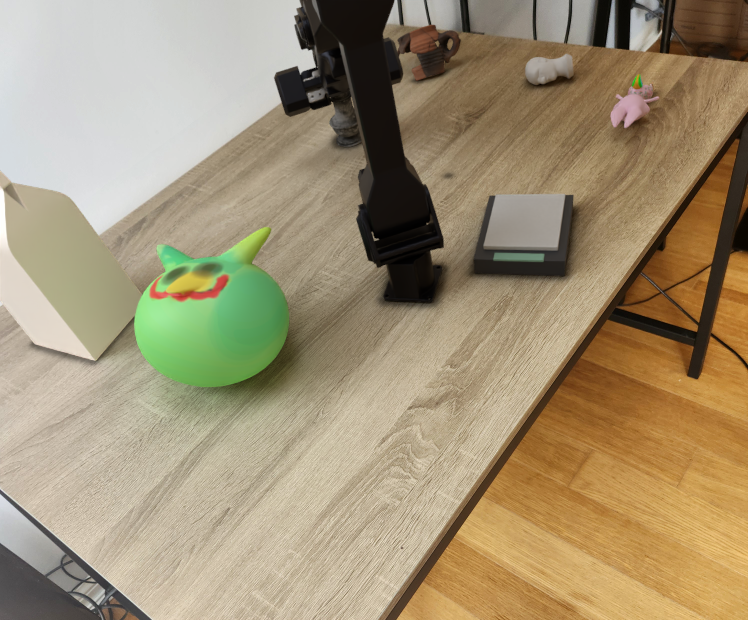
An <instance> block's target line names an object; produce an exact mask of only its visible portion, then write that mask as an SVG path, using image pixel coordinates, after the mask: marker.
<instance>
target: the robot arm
mask: <svg viewBox="0 0 748 620" xmlns="http://www.w3.org/2000/svg"><path fill="white" fill-rule="evenodd" d="M299 4H300V6H299V7H297V8H296V13H297V14H295V15H293V18H294V21H295V24H294V26H293V27H294V30H295V31H294V32H295V35H296V38H297V41H298V44H299V47H300V50H302V51H304V50H307V51H308V52H309V51H311V52H312V54H311V55H312V58H313V62H314V66H315V67H312V68H309V69H305V70H302V71H301V72H300V69H299V66H298V65H295V66H292V67H289V68H286V69H283V70H279V71H276V72H275V74H274V76H273V80H274V84H275V86H276V89H277V92H278V96H279V99H280V102H281V105H282V108H283V111H284V115H286V117H287V116H288V117H289V118H291V117H295V116H298V115H301V114H305V113H307V112H308V111H309V110H312V111H317V110H319V109H323V108H326V107H330V106H331V105H332V104H333V102H331V100H330V98H331V97H333V96H336V95H340V94H343V93H346V92H349V91H350V93H351V100H352V104H353V107H354V110H355V114H356V118H357V123H358V127H359V131H360V136H361V140H362V142H361V144H362V148H363V153H364V157H365V160H366V165H365V167H364V168H361V169H359V171H358V173H357V180H358V189H359V195H360V198H361V203H359V204H357V208H358V210H357V216H356V217H355V221H356V224H357V227H358V231H359V234H360V237H361V241H362V245H363V248H364V250H365V255H366V258H367V261H368V262H372V263H373V264H374V265H376V268H377V269H380V268H382V267H384V266H385V267H386V271H387V275H388V281H387V283H386V287H385V290H384V293H383V296H382V297H383V300H384V301H386V302H401V303H402V302H403V303H404V302H407V303H425V304H426V303H427V304H431V303H433V302H434V301H435V298H436V294H437V290H438V287H439V283H440V279H441V276H442V274H443V265H441V264H433V263H434V262H433V259H432V253H431V252H433V251H435V250H438V249H439V250H441V249H443V248H445V242H444V241H445V240H444V239H445V238H444V235H443V231H442V229H441V225H440V222H439V218H438V216H437V212H436V209H435V206H434V202H433V199H432V196H431V193H430V190H429V187H428V186H427V184H426V183H423V181H422V179H421V177H420V176H419V174H418V172H417V169H416V168H415V166H414V165H413V164H412V163H411V161H410V160H409V159H408V158H407V156H406V155H405V149H404V145H403V139H402V133H401V128H400V122H399V117H398V111H397V105H396V100H395V95H394V88H393V86H394V85H397V84H400V83H401V82H402V80H403V77H404V70H403V69H404V68H403V66H402V62H401V59H400V55H398V52H397V51H398V48H397V46H396V42H395V41H394V39H392V38H391V37H389V36H388V37H384V31H385V29H386V26H387V23H388V21H389V18H390V15H391V14H392V10H393V7H394V4H395V0H299Z"/></svg>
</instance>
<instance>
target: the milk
mask: <svg viewBox="0 0 748 620" xmlns="http://www.w3.org/2000/svg"><path fill="white" fill-rule="evenodd" d="M142 295H143V293H142V292H141V291H140V289H138V287H137V286H136V284H135V283H134V281H133V280H132V279H131V278H130V276H129V275H128V273H127V272H126V270H125V269H124V268H123V267H122V265H121V264H120V262H119V261H118V260H117V258H116V257H115V256H114V254H113V253H112V252H111V251H110V249H109V248H108V246H107V245H106V244H105V242H104V241H103V239H102V238H101V237H100V236H99V234H98V232H97V231H96V230H95V229H94V227H93V226H92V224H91V223H90V222H89V220H88V219H87V218H86V216H85V215H84V214H83V212H82V211H81V209H80V208H79V207H78V206H77V204H76V202H75V201H73V199H72V198H71V197H70V196H69V195H67V194H65V193H63V192H60V191H57V190H53V189H48V188H43V187H39V186H32V185H26V184H23V183H22V184H21V183H16V182H12V180H11V179H9V177H7V175H5V173H4V172H2V171H1V170H0V303H1V304H2V306H4V308H5V309H6V310H7V311H8V313H9V314H10V315H11V317H12V318H13V319H14V320H15V322H16V323H17V324H18V326H20V328H21V329H22V330H23V332H24V333H25V334H26V335H27V337H28V338H29V339H30V340H31V342H33V344H34V345H36V346H40V347H43V348H47V349H51V350H54V351H58V352H60V353H61V352H62V353H65V354H69V355H73V356H76V357H79V358H83V359H86V360H91V361H94V362H96V361H97V360H98V359H99V358H100V357H101V356H102V355H103V353H104V352H105V351H106V350H107V349H108V348H109V346H110V345H111V344H112V343H113V342H114V341H115V340H116V338H117V337H118V336H119V335H120V334H121V333H122V331H123V330H124V329H125V328H126V327H127V325H128V324H130V322H131V321H132V320H133V319H134V318H135V313H136V309H137V306H138V303H139V301H140V298H141V296H142Z"/></svg>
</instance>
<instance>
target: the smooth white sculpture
mask: <svg viewBox="0 0 748 620" xmlns="http://www.w3.org/2000/svg"><path fill="white" fill-rule="evenodd" d="M573 61H574V60H573V55H571V54H569V53H565V54H564V55H562V56H561V57H557V58H547V57H543V56H535V57H532V58H531V59H529V60H528V61H527V62H526V64H525V68H524V74H525V77H526V80H527V81H528V82H529V83H530V84H532V85H534V86H538V85H540V84H541V85H545V84H547V83H550V82H554V81H555V80H557V78H558V77H564V78H566V79H568V80H570V79H571V78H572V77H574V63H573Z"/></svg>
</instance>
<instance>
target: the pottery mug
mask: <svg viewBox="0 0 748 620" xmlns="http://www.w3.org/2000/svg"><path fill="white" fill-rule="evenodd" d="M450 40H452V45H451V47H450V49H449V48H448V47H449V46H448V44H449V41H450ZM437 42H438V45H437ZM461 42H462V39H461V38H460V35H459V32H457V31H455V30H451V29H450V30H446V31H445V30H444V31H443V32H439V31H438V30H437V25H436V24H429V25H424V26H422V27H419V28H417V29H414V30H411V31H409V32H406V33H405V34H403V35H402V36H399V37H398V38H397V43H398V48H397V52H398V55H399V56H400V55H404V54H409V53H412V54H414V55H416V57H417V58H418V61H419V63H420V64H418V65H416V66H415V67H412V69H411V73H412V74H413V78H414V80H415V81H416V82H417V81H421V80H423V79H425V78H428V77H434V76H437V75H439V74H443V73H445V64H446V65H447V64H450V61H451V59H452V58H453V57H454V56H456V55H457V53H459V50H460V47H461Z"/></svg>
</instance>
